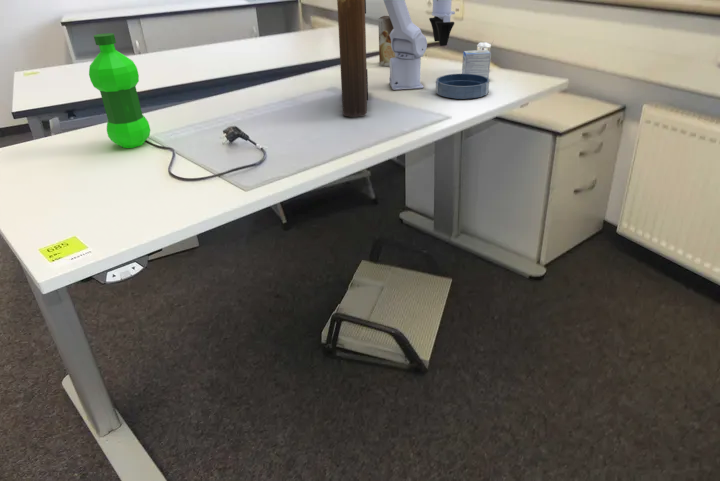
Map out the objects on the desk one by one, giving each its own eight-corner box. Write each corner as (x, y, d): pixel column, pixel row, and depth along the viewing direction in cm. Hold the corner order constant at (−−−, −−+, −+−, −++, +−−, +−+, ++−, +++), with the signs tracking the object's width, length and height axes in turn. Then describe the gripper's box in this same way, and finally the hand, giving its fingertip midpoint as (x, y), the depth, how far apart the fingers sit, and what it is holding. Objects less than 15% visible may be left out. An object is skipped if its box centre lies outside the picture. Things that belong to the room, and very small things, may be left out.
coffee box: (408, 63, 195) (408, 15, 186) (402, 67, 189) (403, 18, 181) (384, 62, 198) (384, 15, 190) (378, 65, 193) (377, 17, 184)
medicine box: (485, 77, 173) (487, 49, 168) (488, 81, 169) (491, 52, 165) (461, 78, 173) (462, 50, 168) (463, 82, 169) (465, 53, 164)
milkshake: (491, 72, 178) (494, 40, 173) (475, 72, 179) (477, 40, 174) (491, 69, 182) (494, 38, 177) (475, 69, 183) (477, 38, 178)
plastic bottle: (111, 155, 123) (78, 41, 111) (109, 141, 132) (79, 33, 119) (156, 147, 127) (129, 35, 114) (152, 134, 135) (127, 29, 122)
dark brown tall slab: (344, 94, 161) (339, -16, 146) (368, 93, 161) (365, -17, 146) (341, 118, 141) (334, -7, 126) (368, 117, 141) (365, -8, 126)
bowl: (442, 101, 151) (443, 88, 149) (431, 87, 164) (431, 75, 162) (495, 98, 152) (496, 84, 150) (479, 84, 165) (480, 72, 163)
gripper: (461, -2, 158) (458, 46, 165) (449, -7, 171) (447, 38, 178) (437, -1, 158) (436, 48, 165) (427, -6, 170) (426, 39, 177)
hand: (440, 43), depth 171 cm, fingers open, 7 cm apart
